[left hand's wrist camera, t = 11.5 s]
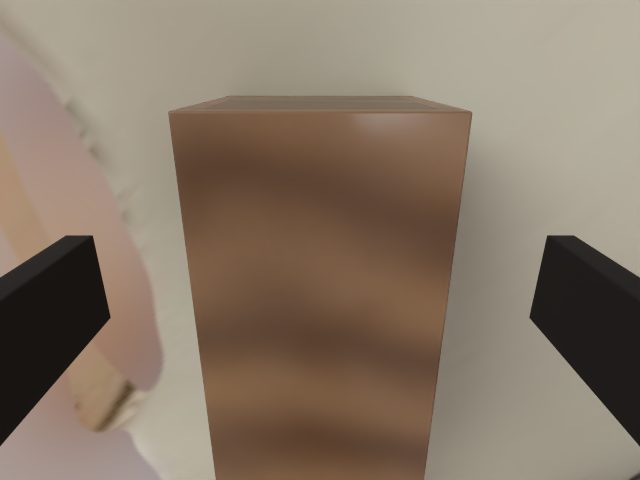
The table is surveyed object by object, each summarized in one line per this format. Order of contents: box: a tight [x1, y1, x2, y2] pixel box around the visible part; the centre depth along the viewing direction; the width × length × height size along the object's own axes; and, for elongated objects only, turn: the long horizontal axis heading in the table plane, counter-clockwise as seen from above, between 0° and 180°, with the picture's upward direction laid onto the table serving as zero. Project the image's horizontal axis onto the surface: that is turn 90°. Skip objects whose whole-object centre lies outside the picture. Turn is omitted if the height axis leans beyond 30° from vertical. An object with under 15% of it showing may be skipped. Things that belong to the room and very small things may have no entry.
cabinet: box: [169, 96, 472, 480], centre depth 25 cm, size 22×12×11 cm, turn 0°
